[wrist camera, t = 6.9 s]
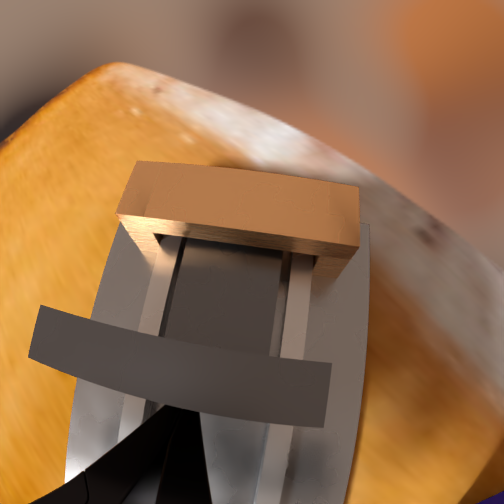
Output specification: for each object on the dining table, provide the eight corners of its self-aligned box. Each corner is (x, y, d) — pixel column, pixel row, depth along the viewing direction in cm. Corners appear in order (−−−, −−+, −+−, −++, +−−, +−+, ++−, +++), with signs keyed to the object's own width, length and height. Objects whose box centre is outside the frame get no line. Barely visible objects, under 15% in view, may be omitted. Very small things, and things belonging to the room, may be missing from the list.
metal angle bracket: (278, 403, 13) (323, 427, 5) (149, 379, 13) (28, 357, 5) (301, 210, 17) (335, 69, 9) (193, 196, 17) (160, 57, 9)
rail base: (322, 552, 10) (345, 597, 6) (73, 500, 11) (25, 523, 7) (362, 234, 18) (393, 185, 14) (136, 203, 19) (110, 152, 14)
